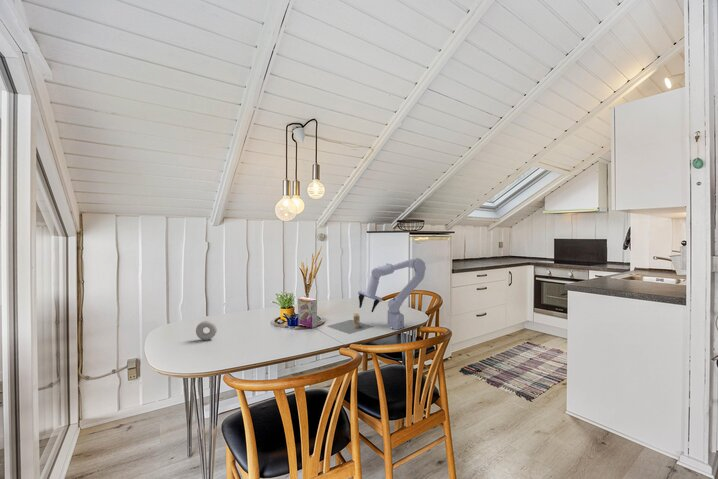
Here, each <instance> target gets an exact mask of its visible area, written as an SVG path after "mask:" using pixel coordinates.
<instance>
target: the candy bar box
mask: <svg viewBox="0 0 718 479" xmlns="http://www.w3.org/2000/svg"><path fill="white" fill-rule="evenodd" d="M298 323H299V324H303V325H305V326H306V327H305V328H308V329H314V328H316V327H318V299H316V298H311V297H305V296H301V297H298V298H297V324H298Z"/></svg>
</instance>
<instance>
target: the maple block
mask: <svg viewBox="0 0 718 479" xmlns="http://www.w3.org/2000/svg"><path fill="white" fill-rule="evenodd" d="M352 320H353V325H354V328H359V325H360V314H359V313H353V318H352Z"/></svg>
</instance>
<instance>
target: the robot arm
mask: <svg viewBox="0 0 718 479" xmlns="http://www.w3.org/2000/svg"><path fill="white" fill-rule="evenodd" d="M405 268H411V269H414V276H413V277H412V278H411V279H410V280H409V282H408V283H407V284H406V285H405V286H404V288H403V289H401V291H400V292H399V293H398V294H397V295H395V296H394V297H393V298H391V299H389V300H388V302H387V306H388V309H387V321H386V322H387V324H386V325H387V326H388V327H387V328H389V327H390V329H392V328H393V329H392V330H395V329H396V331H397V330H400V328H401V329H403V327H404V328H406V327H405V316H404V314H403V313H401V311H400V308H401V306H402V305H403V303H404V302H405V300H406V299H407V298H408V296H409V295H410V294H411V293H412V292H414V290H415V289H416V288H417V287H418V286H419V284H421V282H422V281H423V280H424V279H425V278H424V277H425V274H426V269H427V267H426V263H425V261H424V260H423V259H421V258H414V259H413V258H412V259H408V260H404V261H402V262H398V263H396V264H392V263H386V264H385V265H381V266H380V265H378V267H373V268H372V269H371V275H370V278H369V279H368V284H367V287H366V290H365V291H362V290H359V291H358V292H357V295H358V300H359V306H358V307H359V308H360V309H361V308H362V306H363V302H364V300H365V297H366V298H369V299H372V300H373V305H372V308H371V313H373V312H374V311H375V309H376V307H377V305H379V303H381V302H382V300H383V298H382V297H379V296H378V295H376V294H377V291H378V286H379V282H380V281H379V280H380V278H381V277H384V276H387V275H390V274H394V272H395V271H397V270H402V269H405ZM391 327H392V328H391Z"/></svg>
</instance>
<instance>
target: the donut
mask: <svg viewBox="0 0 718 479" xmlns="http://www.w3.org/2000/svg"><path fill="white" fill-rule="evenodd" d="M206 328H208V329H209V332H207V333H206V332H204V329H206ZM217 330H218V329H217V325H216V323H214V322H213V321H211V320H202V322H200V323H198V325H197V326H196V328H195V334H196V336H197V338H199V340H203V341H208V340H212V339H213V338H214V337H215V336H216V334H217V332H218V331H217Z"/></svg>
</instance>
